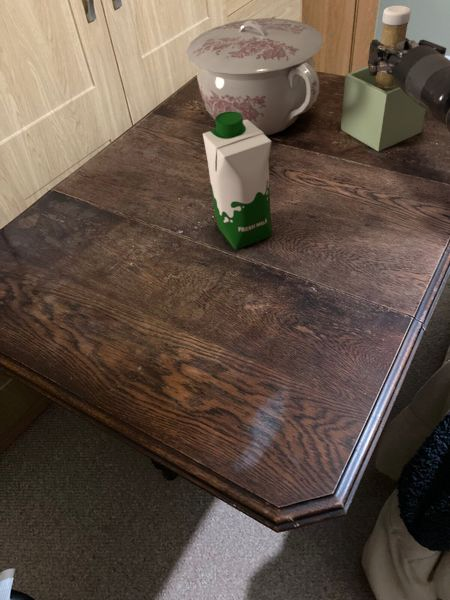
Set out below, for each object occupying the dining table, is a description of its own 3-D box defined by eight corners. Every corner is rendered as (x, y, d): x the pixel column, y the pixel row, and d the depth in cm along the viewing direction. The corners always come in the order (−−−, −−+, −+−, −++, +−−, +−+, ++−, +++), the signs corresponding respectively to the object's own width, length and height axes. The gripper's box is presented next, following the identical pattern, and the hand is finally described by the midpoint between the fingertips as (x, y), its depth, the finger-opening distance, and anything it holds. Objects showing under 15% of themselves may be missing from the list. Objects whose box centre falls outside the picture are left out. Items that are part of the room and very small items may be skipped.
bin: (381, 113, 108) (389, 57, 99) (420, 133, 101) (433, 75, 92) (340, 130, 105) (345, 74, 96) (378, 152, 98) (386, 94, 89)
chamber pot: (201, 97, 121) (189, 4, 106) (314, 89, 119) (318, -8, 104) (192, 159, 102) (175, 56, 87) (326, 151, 100) (332, 43, 85)
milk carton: (255, 210, 89) (248, 103, 74) (279, 238, 83) (277, 127, 68) (210, 227, 87) (194, 119, 72) (233, 256, 81) (220, 146, 66)
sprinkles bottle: (369, 87, 96) (378, 10, 86) (383, 79, 98) (393, 3, 88) (389, 93, 93) (401, 15, 83) (403, 84, 95) (416, 7, 85)
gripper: (475, 47, 78) (425, 14, 90) (389, 62, 77) (350, 27, 89) (463, 93, 84) (417, 57, 95) (383, 108, 83) (347, 69, 95)
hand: (385, 43), depth 92 cm, fingers closed on sprinkles bottle, 4 cm apart
